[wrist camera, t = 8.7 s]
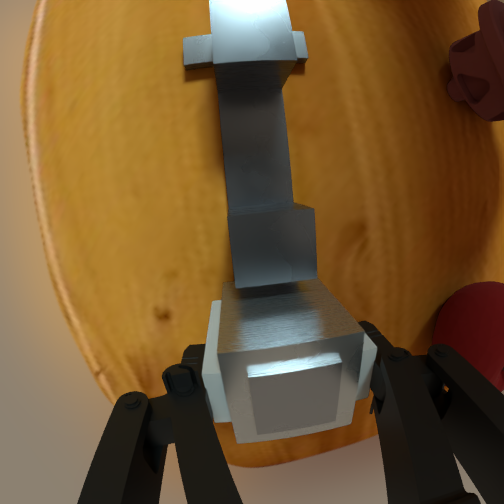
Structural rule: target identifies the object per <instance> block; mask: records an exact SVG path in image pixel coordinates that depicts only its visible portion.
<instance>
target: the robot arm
mask: <svg viewBox="0 0 504 504" xmlns="http://www.w3.org/2000/svg"><path fill="white" fill-rule="evenodd" d="M221 301H222V300H216V301H212V307H211V313H210V320H209V326H208V333H207V340H206V344H197V345H189V346H188V347H187V348H186V350H185V351H184V353H183V357H182V361H181V364H175V365H172V366H170V367H168V368H167V369H166V370H165V371H164V372H163V374H162V379H163V382H164V385H165V388H166V390H167V394H165V395H163V396H160V397H156V398H151V399H148V398H147V396H146V395H145V394H144V393H142V392H137V391H134V392H128V393H126V394H123V395H122V396H121V397H119V399H118V400H117V401H116V404H115V406H114V408H113V411H112V413H111V416H110V418H109V420H108V423H107V425H106V427H105V430H104V433H103V435H102V437H101V440H100V442H99V445H98V447H97V450H96V452H95V455H94V458H93V460H92V463H91V466H90V469H89V471H88V474H87V477H86V480H85V482H84V485H83V488H82V491H81V495H80V497H79V500H78V503H77V504H159V498H160V491H161V484H162V478H163V472H164V465H165V459H166V453H167V447H168V444H171V443H175V446H176V452H177V458H178V463H179V468H180V473H181V477H182V482H183V486H184V490H185V495H186V499H187V503H188V504H243V503H242V500H241V498H240V495H239V493H238V491H237V488H236V486H235V483H234V481H233V478H232V475H231V473H230V470H229V468H228V465H227V462H226V459H225V457H224V454H223V451H222V448H221V445H220V442H219V440H218V437H217V434H216V431H215V428H214V425H213V418H214V422H215V423H218V422H232V420H231V416H230V412H229V408H228V403H227V399H226V394H225V390H224V385H223V380H222V376H221V371H220V366H219V361H218V356H217V347H218V335H219V323H220V312H221ZM357 323H358V324H359V325H360V326H361V327H362V328H363V329H364V331H365V334H364V344H363V353H362V361H361V369H360V376H359V383H358V389H357V395H356V401H357V400H360V399H364V398H367V397H368V395H369V390H370V388H371V390H372V391H373V393H374V396H373V400H372V404H371V408H370V414H372V412H373V409H374V412H375V418H376V423H377V428H378V434H379V439H380V445H381V451H382V458H383V465H384V472H385V480H386V488H387V497H388V504H481V503H480V500H479V498H478V496H477V495H476V494H474V493H467V492H466V491H465V489H464V487H463V483H462V480H461V476H460V473H459V470H458V467H457V464H456V460H455V457H454V455H455V456H456V458H457V459H458V461H459V462H460V464H461V465H462V467H463V468H464V470H465V471H466V473H467V474H468V476H469V477H470V479H471V480H472V482H473V483H474V485H475V487H476V488H477V489H478V491H479V493H480V494H481V496H482V497H483V499H484V501H485V502H486V504H504V395H503V394H502V393H501V392H500V391H499V390H498V389H497V388H496V387H495V386H494V385H493V384H492V383H491V382H490V381H489V380H488V379H486V378H485V377H484V376H483V375H482V374H481V373H480V372H479V371H478V370H477V369H476V368H475V367H473V366H472V365H471V364H470V363H469V362H468V361H467V360H466V359H465V358H464V357H462V356H461V355H460V354H459V353H458V352H457V351H456V350H454V349H453V348H452V347H450V346H449V345H446V344H434V345H432V346H430V348H429V349H428V353H427V355H418V356H412V355H411V353H410V352H409V351H407V350H406V349H403V348H399V347H393V346H392V344H391V343H390V342H389V341H388V340H387V339H386V338H385V337H384V336H383V335H382V334H381V333H380V331H378V329H377V328H376V327H375V326H374V325H373V324H371V323H369V322H367V321H361V322H357ZM445 385H446V386H447V387H448V388H449V390H448V392H447V391H445V390H444V386H445ZM453 454H454V455H453Z"/></svg>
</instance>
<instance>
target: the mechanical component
mask: <svg viewBox="0 0 504 504" xmlns="http://www.w3.org/2000/svg"><path fill="white" fill-rule="evenodd" d="M478 19H479V26H480V30H479V31H477V32H475V33H473V34H470V35H468V36H466V37H464V38H462V39H460V40H458V41H456V42H454V43H452V45H451V46H450V50H449V61H450V66H451V70H452V74H453V77H452V79H451V80H450V82H449V83H448V84H447V91H448V93H449V95H450V97H451V98H452V99H453V100H454V101H456V102H459V101H463V100H466V101H467V103H468V104H469V106H470V107H471V108H472V109H473V110H474V111H475V112H476V113H477V114H478V115H479V116H480V117H481V118H483V119H484V120H486V121H490V122H493V121H501V120H504V3H502V2H500V1H498V0H491V1H489V2H487V3H485V4H483V5H481V6H480V7H479V10H478Z"/></svg>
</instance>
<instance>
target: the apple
mask: <svg viewBox="0 0 504 504" xmlns="http://www.w3.org/2000/svg"><path fill="white" fill-rule="evenodd" d="M434 344H446V345H449V346H450V347H452V348H453V349H454V350H456V351H457V352H458V353H459V354H460V355H461V356H462V357H464V358H465V359H466V360H467V361H468V362H469V363H470V364H471V365H472V366H473V367H475V368H476V369H477V370H478V371H479V372H480V373H481V374H482V375H483V376H484V377H485V378H486V379H488V380H489V381H490V382H491V383H492V384H493V385H494V386H495V387H496V388H497V389H498V390H499V391H500V392H502V391H503V390H504V284H503V283H499V282H478V283H473V284H470V285H467V286H465V287H463V288H461V289H460V290H458V291H456V292H455V293H454V294H453V295H452V296H451V297H450V298H449V299H448V300H447V302H446V303H445V304H444V306H443V307H442V309H441V310H440V313H439V315H438V318H437V322H436V326H435V330H434V334H433V339H432V345H434ZM445 386H446V385H445ZM446 387H447V386H446Z"/></svg>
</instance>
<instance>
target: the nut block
mask: <svg viewBox="0 0 504 504" xmlns="http://www.w3.org/2000/svg"><path fill="white" fill-rule="evenodd" d="M364 334H365V331H364V329H363V328H362V327H361V326H360V325H359V324H358V323H357V321H356V320H355V319H354V318H353V317H352V316H351V315H350V313H349V312H348V311H347V310H346V309H345V308H344V307H343V306H342V304H341V303H340V302H339V301H338V300H337V299H336V298H335V297H334V295H333V294H332V293H331V292H330V291H329V290H328V289H327V288H326V287H325V285H324V284H323V283H322V282H321V281H320V280H319V279H318V278H317V279H310V280H302V281H294V282H286V283H278V284H270V285H261V286H252V287H243V288H236V287H235V281H231V282H223V290H222V301H221V312H220V323H219V335H218V347H217V356H218V361H219V366H220V371H221V376H222V380H223V385H224V390H225V394H226V399H227V403H228V408H229V412H230V416H231V420H232V425H233V429H234V433H235V437H236V441H237V444H240V443H251V442H260V441H269V440H276V439H283V438H289V437H295V436H301V435H306V434H311V433H316V432H320V431H325V430H329V429H333V428H337V427H341V426H345V425H349V424H351V422H352V417H353V412H354V407H355V401H356V395H357V389H358V383H359V376H360V369H361V361H362V353H363V344H364Z"/></svg>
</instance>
